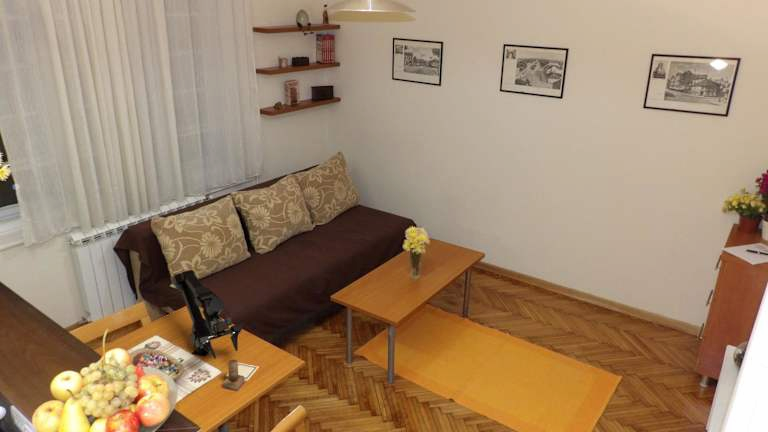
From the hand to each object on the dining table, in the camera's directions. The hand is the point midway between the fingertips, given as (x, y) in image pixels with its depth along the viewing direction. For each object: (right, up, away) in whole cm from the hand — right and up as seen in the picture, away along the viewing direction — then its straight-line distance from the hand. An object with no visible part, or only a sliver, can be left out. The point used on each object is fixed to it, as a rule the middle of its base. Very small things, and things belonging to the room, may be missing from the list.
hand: (226, 354), depth 227 cm
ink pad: (+3, -13, 0) cm, 13 cm away
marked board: (+4, -10, +9) cm, 14 cm away
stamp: (+3, -12, 0) cm, 13 cm away
